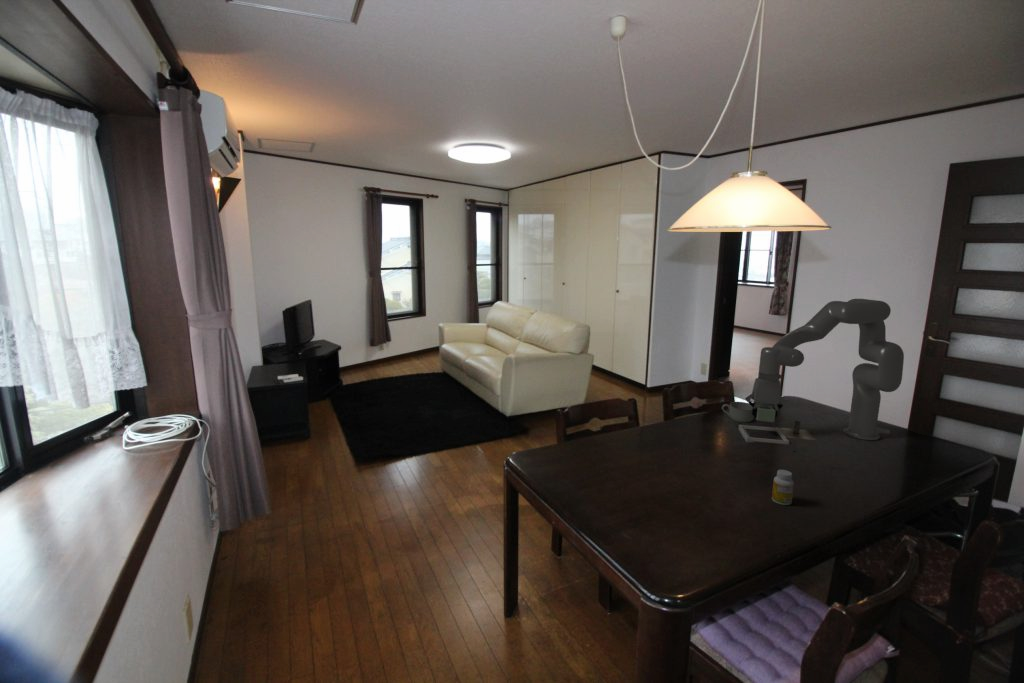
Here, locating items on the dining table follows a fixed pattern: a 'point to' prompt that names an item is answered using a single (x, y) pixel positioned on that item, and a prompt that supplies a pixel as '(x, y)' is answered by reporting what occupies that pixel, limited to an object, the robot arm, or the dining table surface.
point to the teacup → (739, 411)
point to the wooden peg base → (796, 432)
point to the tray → (750, 439)
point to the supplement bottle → (783, 488)
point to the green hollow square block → (765, 413)
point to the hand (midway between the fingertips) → (763, 417)
